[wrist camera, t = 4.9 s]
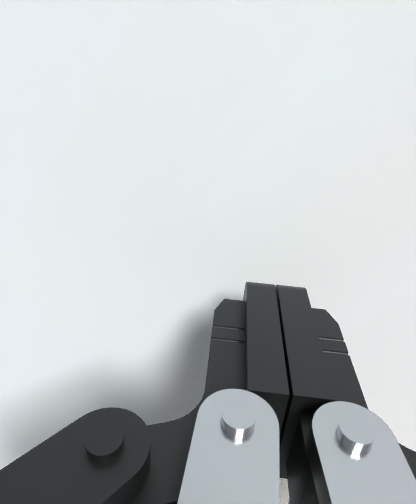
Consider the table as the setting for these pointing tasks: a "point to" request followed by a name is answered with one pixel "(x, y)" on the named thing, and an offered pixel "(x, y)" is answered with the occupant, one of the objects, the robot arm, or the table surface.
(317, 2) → the table surface
